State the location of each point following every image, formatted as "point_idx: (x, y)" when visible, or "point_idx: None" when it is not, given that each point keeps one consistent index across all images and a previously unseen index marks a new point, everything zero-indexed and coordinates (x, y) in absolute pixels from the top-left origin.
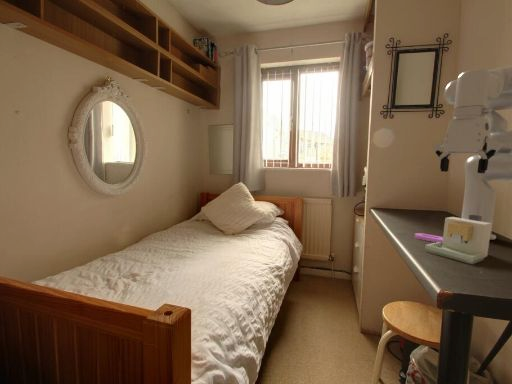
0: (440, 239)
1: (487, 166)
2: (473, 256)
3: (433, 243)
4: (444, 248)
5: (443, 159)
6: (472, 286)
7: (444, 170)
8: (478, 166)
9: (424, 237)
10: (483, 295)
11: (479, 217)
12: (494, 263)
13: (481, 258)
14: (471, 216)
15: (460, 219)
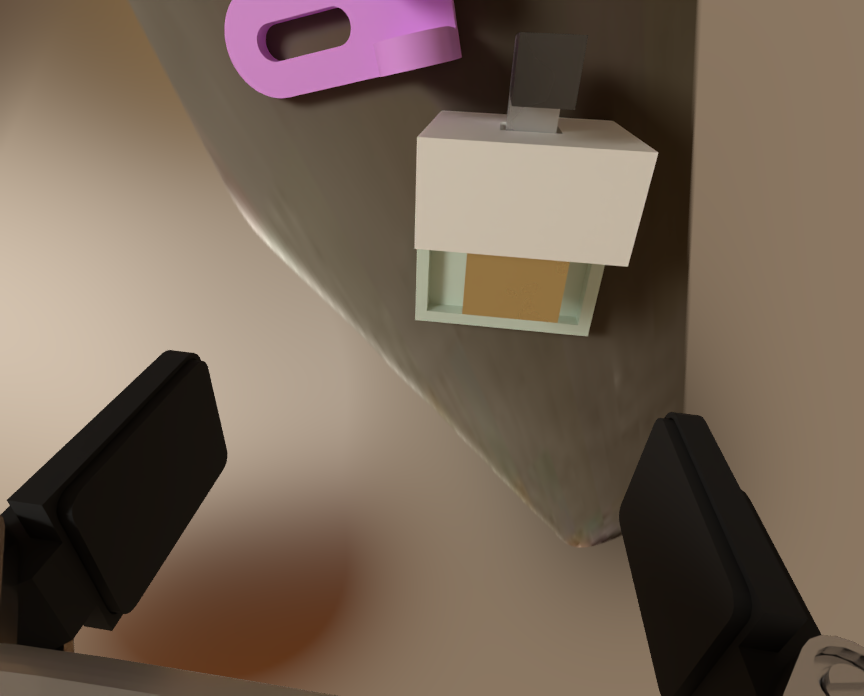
0: (375, 63)
1: (763, 529)
2: (587, 323)
3: (421, 264)
4: None
5: (115, 617)
6: (614, 493)
7: (220, 447)
8: (640, 591)
9: (304, 93)
10: None
11: (578, 85)
12: (646, 224)
13: None
14: (527, 105)
15: (487, 211)
